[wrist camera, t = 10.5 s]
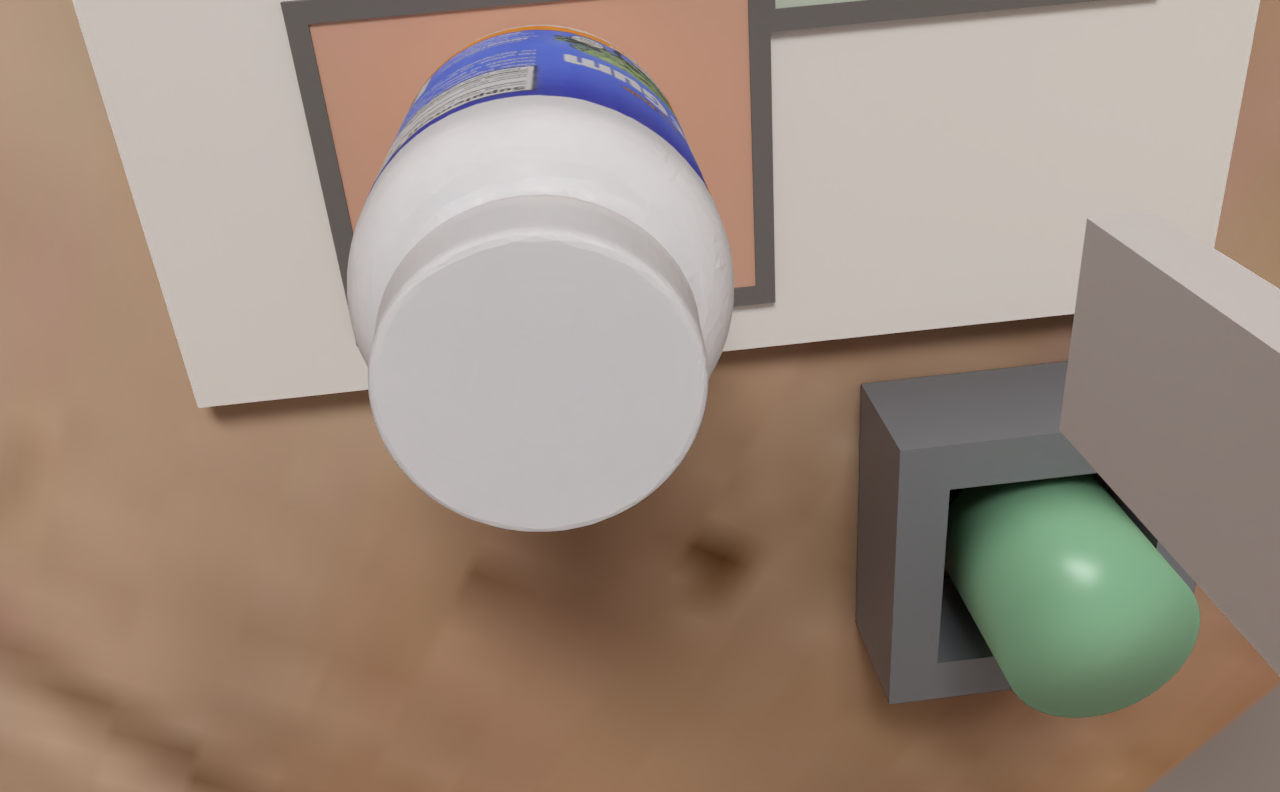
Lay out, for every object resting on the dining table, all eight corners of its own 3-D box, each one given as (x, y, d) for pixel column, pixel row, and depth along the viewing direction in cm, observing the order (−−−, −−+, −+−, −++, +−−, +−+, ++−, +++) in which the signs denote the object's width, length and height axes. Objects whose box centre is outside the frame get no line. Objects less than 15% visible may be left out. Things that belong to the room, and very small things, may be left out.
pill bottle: (731, 197, 22) (861, 441, 13) (512, 339, 23) (500, 651, 14) (577, -45, 19) (612, 58, 11) (341, 126, 20) (202, 344, 12)
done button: (934, 606, 26) (996, 728, 23) (943, 466, 24) (1013, 575, 21) (1095, 586, 26) (1182, 705, 23) (1117, 446, 24) (1215, 551, 21)
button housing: (855, 621, 28) (889, 704, 25) (861, 384, 25) (900, 450, 22) (1117, 590, 28) (1178, 669, 26) (1158, 351, 25) (1232, 413, 22)
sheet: (205, 395, 23) (195, 411, 23) (-34, -394, 17) (-57, -403, 16) (1189, 289, 24) (1208, 302, 24) (1330, -498, 18) (1361, -511, 17)
